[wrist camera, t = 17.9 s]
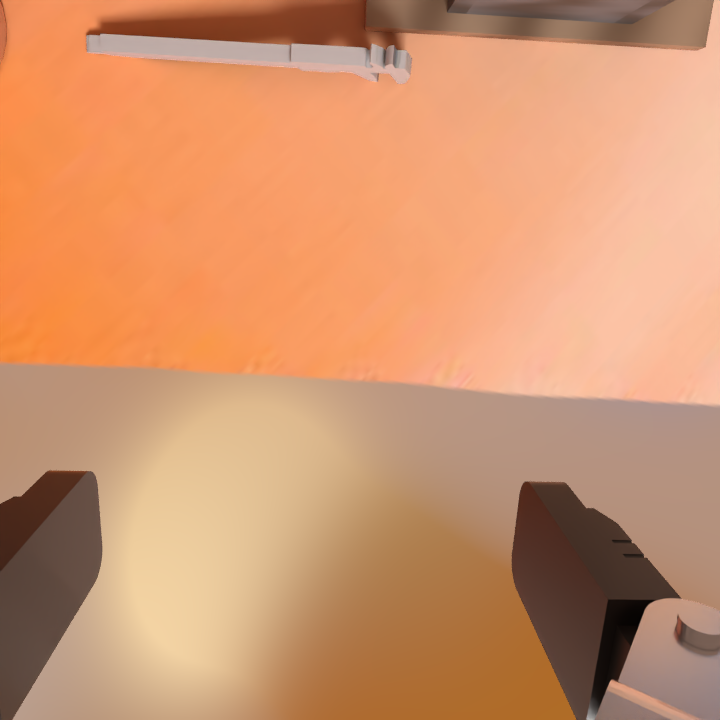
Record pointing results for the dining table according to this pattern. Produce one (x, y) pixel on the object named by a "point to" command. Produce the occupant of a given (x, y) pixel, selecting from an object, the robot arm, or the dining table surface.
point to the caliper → (261, 54)
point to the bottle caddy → (551, 20)
